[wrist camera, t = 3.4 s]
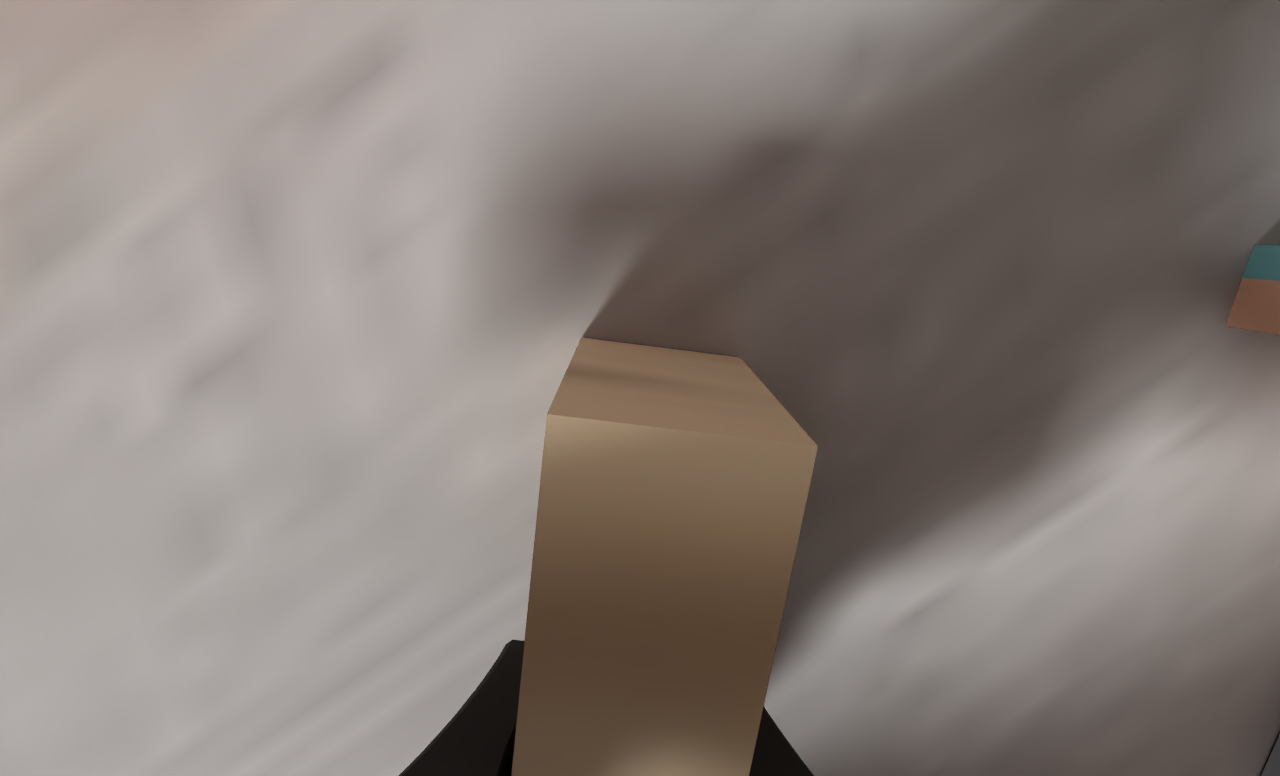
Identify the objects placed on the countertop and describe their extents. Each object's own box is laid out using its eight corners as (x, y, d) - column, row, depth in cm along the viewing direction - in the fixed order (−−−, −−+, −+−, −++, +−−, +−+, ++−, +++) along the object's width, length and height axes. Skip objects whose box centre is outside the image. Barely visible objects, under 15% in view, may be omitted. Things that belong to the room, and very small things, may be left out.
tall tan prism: (666, 788, 14) (685, 1077, 9) (533, 775, 14) (483, 1063, 9) (740, 357, 12) (818, 445, 7) (581, 337, 12) (547, 413, 7)
